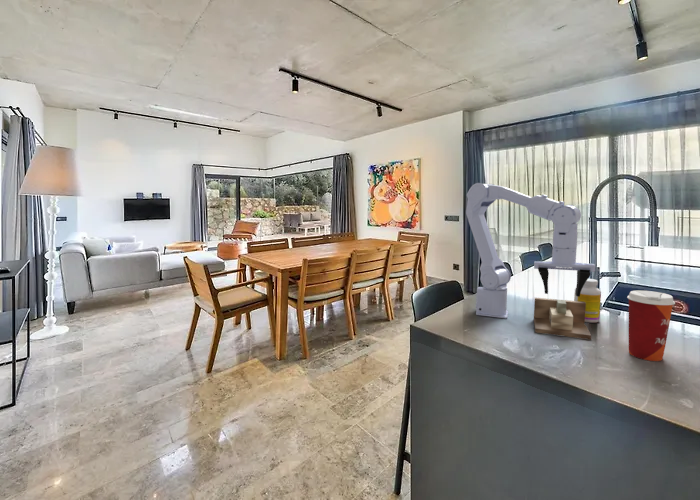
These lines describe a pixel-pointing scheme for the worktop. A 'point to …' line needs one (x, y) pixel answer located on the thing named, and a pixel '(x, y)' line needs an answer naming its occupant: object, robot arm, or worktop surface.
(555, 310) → the saddle block
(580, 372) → the worktop surface
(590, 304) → the supplement bottle
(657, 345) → the coffee cup
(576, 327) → the cleat board
